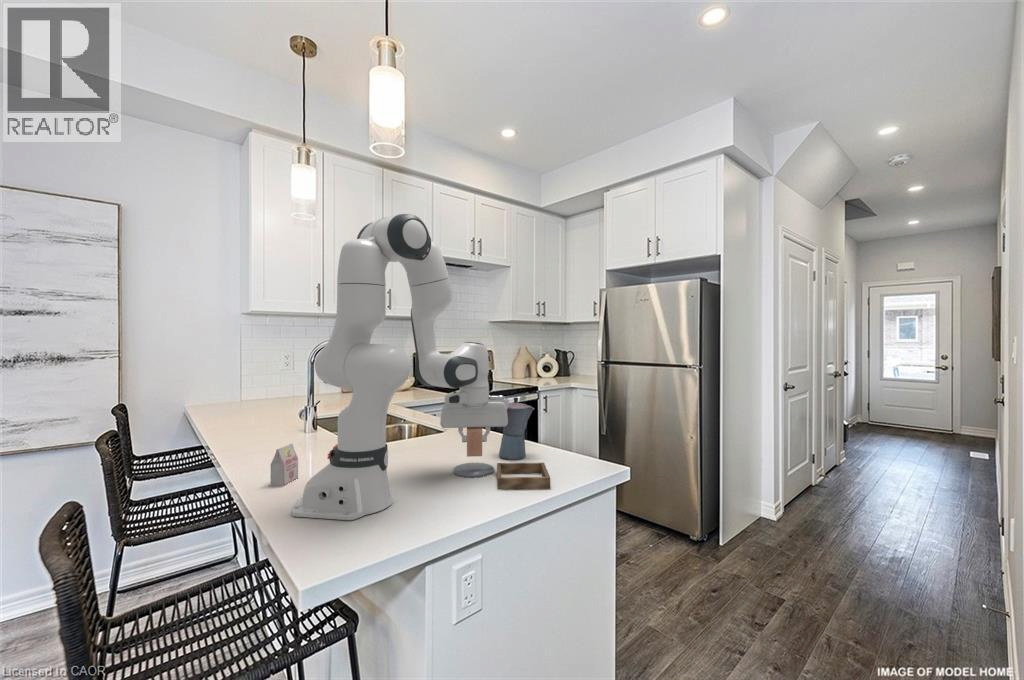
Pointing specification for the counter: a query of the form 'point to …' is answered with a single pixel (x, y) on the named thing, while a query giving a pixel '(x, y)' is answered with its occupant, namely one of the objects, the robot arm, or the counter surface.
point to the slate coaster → (473, 470)
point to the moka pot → (515, 431)
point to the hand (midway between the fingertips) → (474, 441)
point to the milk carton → (284, 466)
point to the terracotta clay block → (474, 441)
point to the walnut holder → (522, 481)
